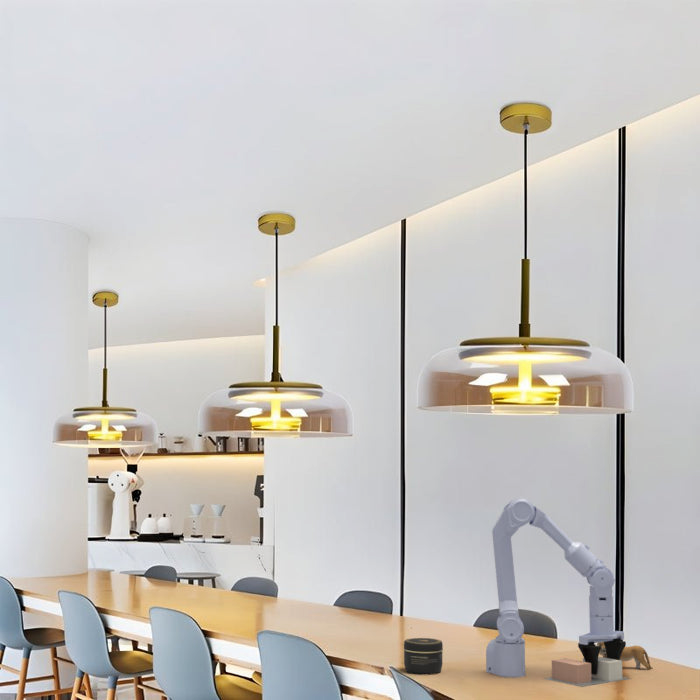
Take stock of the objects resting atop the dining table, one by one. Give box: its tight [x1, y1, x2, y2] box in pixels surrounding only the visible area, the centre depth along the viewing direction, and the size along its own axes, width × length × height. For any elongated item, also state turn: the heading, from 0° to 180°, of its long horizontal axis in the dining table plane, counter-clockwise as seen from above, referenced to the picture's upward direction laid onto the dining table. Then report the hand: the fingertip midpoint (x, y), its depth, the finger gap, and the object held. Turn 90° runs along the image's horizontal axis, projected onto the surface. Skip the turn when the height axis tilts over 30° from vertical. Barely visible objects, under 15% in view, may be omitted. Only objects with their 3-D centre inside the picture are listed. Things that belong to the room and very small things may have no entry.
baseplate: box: [542, 676, 632, 688], centre depth 242 cm, size 12×18×1 cm, turn 126°
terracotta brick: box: [551, 657, 591, 684], centre depth 240 cm, size 8×5×4 cm, turn 36°
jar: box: [403, 637, 444, 675], centre depth 254 cm, size 10×10×8 cm
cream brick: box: [582, 655, 623, 681], centre depth 244 cm, size 8×5×4 cm, turn 36°
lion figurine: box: [596, 642, 654, 671], centre depth 256 cm, size 15×5×9 cm, turn 93°
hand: (602, 672), depth 244 cm, fingers open, 7 cm apart
